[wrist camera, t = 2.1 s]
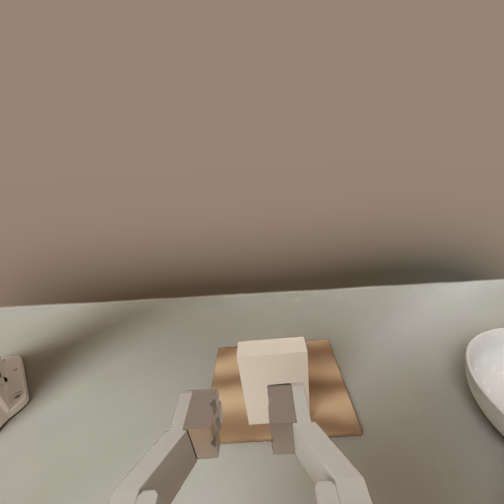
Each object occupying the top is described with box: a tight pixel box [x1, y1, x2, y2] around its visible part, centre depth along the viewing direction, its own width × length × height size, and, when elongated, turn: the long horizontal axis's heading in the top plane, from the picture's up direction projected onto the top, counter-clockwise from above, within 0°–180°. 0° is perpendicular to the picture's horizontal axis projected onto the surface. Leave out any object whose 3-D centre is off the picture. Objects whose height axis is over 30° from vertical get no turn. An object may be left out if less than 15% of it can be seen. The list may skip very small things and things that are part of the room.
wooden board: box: [211, 339, 362, 444], centre depth 39 cm, size 16×20×1 cm
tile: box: [237, 336, 310, 425], centre depth 32 cm, size 2×8×12 cm, turn 89°
